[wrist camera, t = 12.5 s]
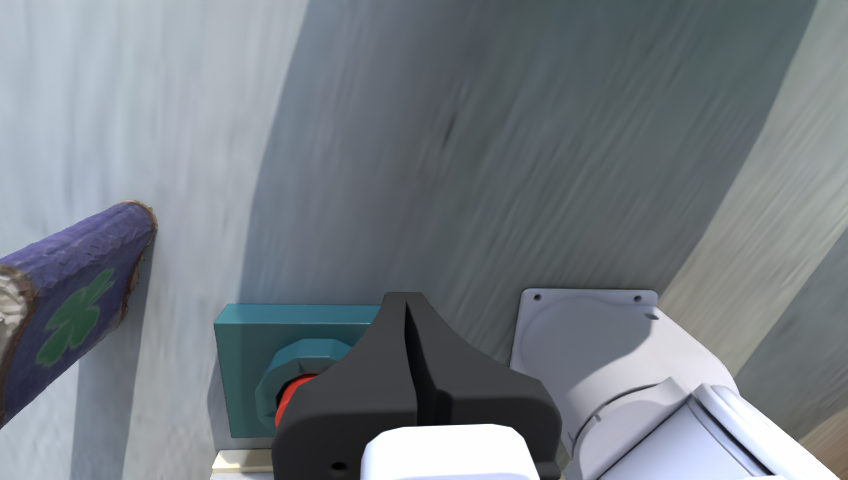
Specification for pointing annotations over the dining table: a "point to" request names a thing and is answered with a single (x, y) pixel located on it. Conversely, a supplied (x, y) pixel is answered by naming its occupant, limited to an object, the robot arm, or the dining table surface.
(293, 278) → the dining table surface
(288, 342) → the control block
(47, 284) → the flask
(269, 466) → the tap rail
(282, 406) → the button
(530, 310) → the robot arm
